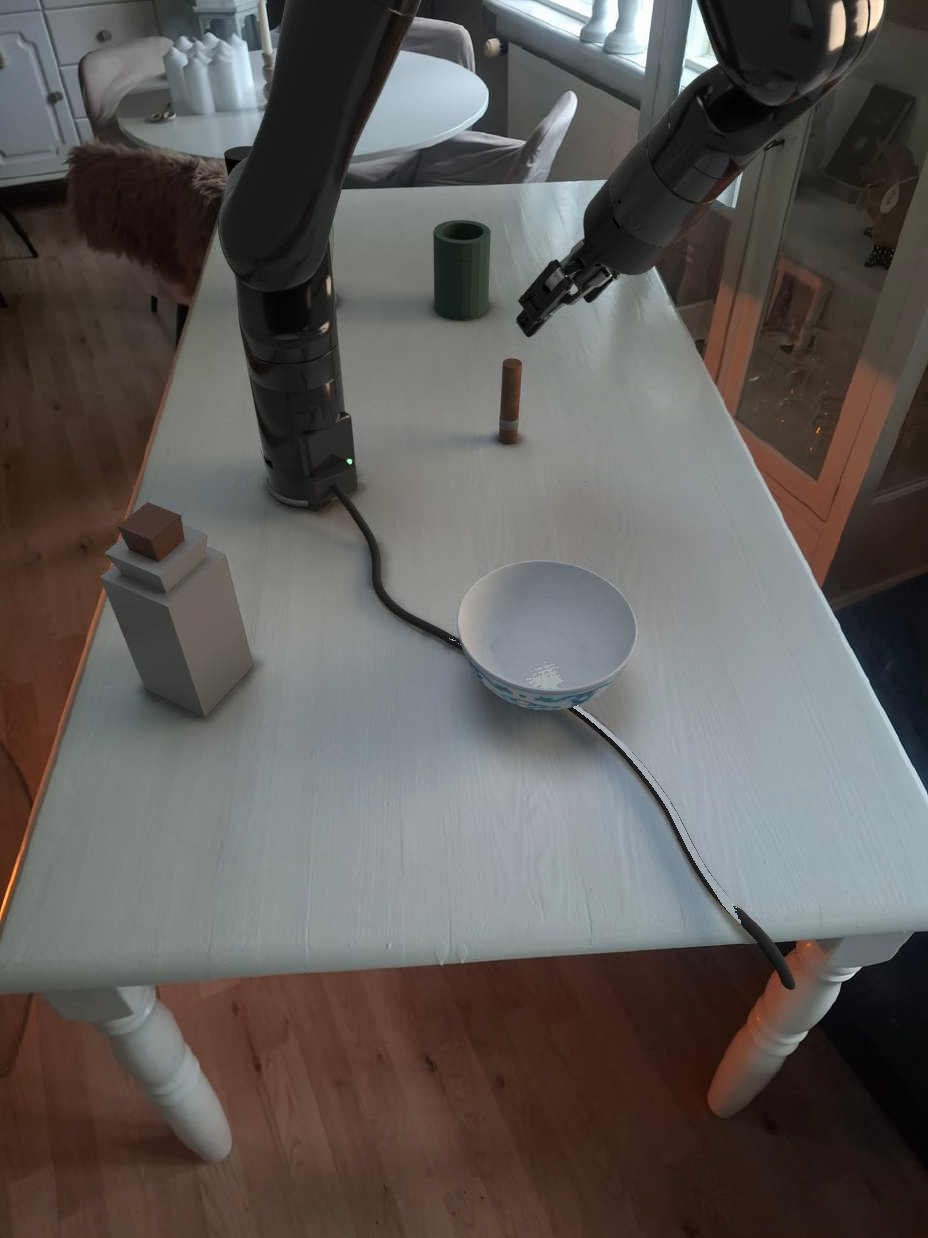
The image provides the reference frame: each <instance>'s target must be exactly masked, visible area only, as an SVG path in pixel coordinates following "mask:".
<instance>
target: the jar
mask: <svg viewBox="0 0 928 1238" xmlns="http://www.w3.org/2000/svg"><path fill="white" fill-rule="evenodd" d="M432 232H433V233H432V234H433V235H432V236H433V237H432V238H433V301H434V302H433V304H434V311H435V312H436V313H437V314H438V315H439V316H440V317H443V318H445V319H448V320H454V321H470V320H475V319H478V318H480V317H482V316H484V315H485V314H486V313H487V312H488V309H489V293H490V291H489V290H490V268H491V264H490V263H491V238H492V237H491V234H492V231H491V229H490V228H489V226H487V225H486V224H484V223H481V222H480V221H479V222H478V221H475V220H469V219H455V220H449V221H444V222H440V223H439V224H438V225H436V226H435V227H434V228H433V231H432Z"/></svg>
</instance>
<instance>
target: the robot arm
mask: <svg viewBox="0 0 928 1238" xmlns="http://www.w3.org/2000/svg"><path fill="white" fill-rule="evenodd" d="M695 1H696V4H697V8H698V10H699V12H700V13H699V14H700V15H701V18H702V19H701V20H702V21H703V25H704V28H705V32H706V35H707V38H708V40H709V43H710V47H711V49H712V52H713V54H714V57H715V59H716V61H717V63H716V64H715V65H713V66H712V67H710V68H709V69H706V70H705V71H703V72H702V73H701V74H699V75H697V76H696V77H695V78H694V79H692V81H691V82H689V84H687V85H686V86H685V87H684V88H683V89H682V90H681V92H680V93H679V94H678V95H677V96H676V97H675V99H674V100H673V101H672V103H671V104H670V105H669V106H668V107H667V109H666V111H664V113H663V114H662V115H661V117H660V118H659V119H658V121H657V122H656V123H655V124H654V125H653V127H652V128H651V129H650V130H649V131H648V132H647V133H646V134H645V135H644V136H643V137H642V138H641V139H640V140H639V141H638V142H637V143H635V145H634V146H633V147H632V148H631V150H629V152H628V153H627V154H626V155H625V156H624V158H623V159H622V160H621V162H620V163H619V164H618V166H617V167H616V168H615V169H614V171H612V173H611V175H610V176H609V177H608V178H607V179H606V181H605V182H604V183H603V185H602V186H601V187H600V189H599V190H597V192H596V194H595V195H594V196H593V197H592V199H591V200H590V201H589V202H588V204H587V205H586V208H585V210H584V212H583V213H584V214H583V218H582V219H583V220H582V226H583V227H582V228H583V238H581V239H580V240H579V241H578V242H576V243H575V244H574V245H573V246H572V247H571V249H570V252H569V253H568V254H567V255H566V256H565V257H564V258H563V259H562V260H561V261H559V259H558V258H556V259H554V260H551V261H549V262H548V264H547V265H546V266H545V268H544V269H543V270H542V271H541V272H540V273H539V275H538V276H537V277H536V279H534V280H533V282H532V283H531V284H530V285H529V287H528V288H527V289H526V290H525V291H524V293H523V294H522V295H521V296H520V297H519V299H518V300H517V302H518V304H519V305H520V307H522V311H520V313H519V314H518V315H517V316H516V318H515V319H516V320H515V323H516V324H517V325H518V328H520V330H521V331H522V333H523V334H524V335H525V337H526V338H531V337H533V336H535V335H536V334H538V332H539V331H540V329H541V328H542V327H543V326H544V325H545V324H546V323H547V322H548V321H549V320H550V319H551V318H552V317H553V316H554V315H555V314H556V313H557V312H558V311H560V309H562V308H563V307H564V306H565V305H566V306H574V305H576V303H578V302H579V301H580V300H581V299H583V300H584V301H585V302H586V303H587V304H591V303H593V302H594V301H596V300H597V298H599V296H600V295H601V294H602V293H603V292H604V291H605V290H606V289H607V288H608V287H609V286H610V285H611V284H612V282H613V283H614V282H615V281H619V280H620V279H621V278H622V277H623V276H625V275H627V276H638V275H642V274H645V273H648V272H649V271H651V270H652V269H653V268H654V267H655V266H656V265H657V264H658V263H659V262H660V261H661V260H662V259H663V258H664V257H665V256H666V255H667V254H668V253H669V252H670V251H671V250H672V249H673V248H674V247H675V245H677V244H678V243H679V242H680V241H681V240H682V239H683V238H684V237H685V236H686V235H687V234H688V233H689V232H690V231H691V230H692V229H693V228H694V227H695V226H696V225H697V224H698V223H699V221H700V220H702V218H703V217H704V216H705V214H706V213H707V212H708V211H709V210H710V208H711V207H712V205H713V204H714V202H716V199H718V198H719V197H720V196H721V195H722V194H723V193H724V192H725V191H726V189H727V188H729V187H730V186H731V185H732V184H733V182H734V181H735V180H736V179H738V178H739V176H740V175H741V174H742V173H743V172H745V170H746V169H747V168H748V167H749V166H750V164H751V163H752V162H753V161H754V160H755V158H756V157H757V156H758V155H759V154H760V153H762V151H763V150H764V149H765V148H766V147H767V146H768V145H769V144H770V143H772V141H774V139H776V138H777V137H778V136H779V135H780V134H781V133H783V132H784V131H785V130H787V129H788V128H789V127H791V125H793V124H795V123H796V121H798V120H799V119H800V118H801V117H803V116H804V115H806V113H807V112H808V111H810V110H811V109H813V108H814V107H815V106H816V105H817V104H819V102H821V101H822V100H823V99H824V98H825V97H827V95H829V94H830V93H831V92H832V91H833V90H835V88H837V87H838V86H839V85H840V84H841V83H842V82H843V81H844V80H845V79H846V78H847V77H848V76H850V75H851V74H852V73H853V71H855V69H856V68H858V66H859V65H860V64H861V63H862V62H863V60H864V59H865V58H866V56H867V55H868V54H869V52H870V51H871V50H872V48H873V46H874V44H875V43H876V40H878V39H877V38H878V36H879V34H880V32H881V29H882V27H883V24H884V20H885V15H886V9H887V0H695ZM421 3H422V0H285V3H284V8H283V13H282V18H281V23H280V29H279V34H278V41H277V48H276V54H275V60H274V65H273V72H272V79H271V84H270V90H269V94H268V97H267V98H268V99H267V103H266V106H265V109H264V113H263V116H262V119H261V122H260V125H259V127H258V129H257V132H256V135H255V138H254V139H253V143H252V145H251V146H252V148H251V150H250V153H249V155H248V157H247V158H245V159H243V160H242V161H241V162H240V163H238V164H237V165H236V166H235V168H234V169H233V170H232V171H231V173H230V175H229V176H228V175H227V178H226V180H225V183H224V185H223V189H222V194H221V201H220V205H219V206H220V207H219V213H218V218H217V219H218V220H217V235H218V240H219V244H220V248H221V252H222V254H223V256H224V259H225V261H226V263H227V265H228V266H229V268H230V270H231V271H232V273H233V274H234V279H235V289H236V297H237V299H236V300H237V312H238V326H239V331H240V336H241V340H242V345H243V351H244V356H245V362H246V367H247V371H248V372H247V374H248V379H249V383H250V384H249V385H250V390H251V395H252V400H253V407H254V411H255V417H256V422H257V427H258V432H259V433H258V434H259V438H260V444H261V447H259V451H260V454H261V457H262V461H263V464H264V467H265V471H266V477H267V478H266V480H267V485H268V490H269V493H270V494H271V495H272V496H273V498H275V499H277V501H279V502H281V503H283V504H285V505H289V506H292V507H297V508H308V509H311V510H312V511H313V512H318V511H320V510H322V509H324V508H326V507H328V506H329V505H331V504H332V503H334V502H336V501H338V500H339V501H340V502H341V503H342V505H343V507H344V508H345V509H346V511H347V513H348V514H349V515H350V516H351V518H352V520H353V521H354V523H355V524H356V526H357V527H358V529H359V530H360V532H361V533H362V535H363V537H364V539H365V541H366V542H367V545H368V548H369V551H370V555H371V579H372V586H373V589H374V592H375V594H376V596H377V597H378V598H379V600H380V601H381V603H382V604H383V606H385V608H387V609H388V610H389V611H390V612H392V614H394V615H395V616H397V617H398V618H399V619H401V620H403V621H405V622H406V623H408V624H410V625H411V626H414V627H416V628H418V629H419V630H421V631H424V632H426V633H428V634H429V635H431V636H434V637H436V638H438V639H439V640H442V641H443V642H445V643H446V644H449V645H450V646H452V647H454V648H455V649H457V650H459V651H461V652H463V653H464V651H463V649H462V646H461V645H460V644H461V643H460V640H459V639H458V638H459V637H457V636H455V635H453V634H451V633H450V632H448V631H446V630H444V629H443V628H440V627H438V626H436V625H434V624H432V623H431V622H428V621H427V620H424V619H422V618H420V617H418V616H416V615H414V614H412V613H410V612H409V611H407V610H406V609H404V608H403V607H402V606H400V605H399V604H397V602H395V601H394V600H393V598H392V597H390V595H389V594H388V592H387V591H386V589H385V587H384V585H383V582H382V564H381V562H382V561H381V552H380V549H379V544H378V542H377V539H376V537H375V535H374V533H373V532H372V530H371V528H370V526H369V525H368V523H367V522H366V520H365V519H364V517H363V516H362V514H361V513H360V511H359V510H358V508H357V507H356V506H355V504H354V503H353V501H352V500H351V499H350V497H349V496H348V495H347V494H350V493H351V492H353V491H354V490H356V489H358V487H359V485H358V474H357V472H358V471H357V464H356V453H355V440H354V431H353V421H352V415H351V414H350V413H349V412H347V411H346V404H345V395H344V394H345V393H344V383H343V374H342V364H341V363H342V362H341V352H340V342H339V332H338V331H339V330H338V319H337V317H338V316H337V306H336V305H337V304H336V303H335V293H336V290H335V291H334V289H335V284H334V274H333V262H331V251H330V240H329V235H330V231H331V227H332V223H333V224H334V219H335V216H336V211H337V208H338V204H339V201H340V198H341V194H342V190H343V187H344V185H345V184H344V183H345V180H346V177H347V173H348V171H349V168H350V164H351V162H352V159H353V156H354V153H355V151H356V148H357V145H358V143H359V140H360V138H361V136H362V134H363V132H364V130H365V128H366V125H367V124H368V122H369V119H370V118H371V115H372V114H373V111H374V109H375V107H376V105H377V103H378V101H379V100H380V97H381V95H382V92H383V91H384V89H385V86H386V84H387V82H388V80H389V77H390V75H391V72H392V70H393V69H394V66H395V64H396V61H397V60H398V57H399V55H400V52H401V50H402V48H403V45H404V43H405V40H406V38H407V36H408V34H409V32H410V29H411V27H412V25H413V22H414V20H415V18H416V15H417V13H418V10H419V8H420V5H421ZM573 286H575V288H576V291H575V293H572V292H571V289H572V287H573ZM456 637H457V638H456ZM449 638H450V639H453V640H456V641H452V640H450V639H449ZM458 643H459V644H458ZM566 710H568V711H569V712H571V713H572V714H573V715H575V716H576V717H578V718H579V719H580V720H581V721H583V723H585V724H586V725H588V727H590V728H591V729H592V730H593V731H595V733H597V734H598V735H599V736H600V737H602V738H603V740H604V741H606V742H607V743H608V744H609V745H610V746H611V747H612V748H613V749H614V750H615V751H616V752H617V753H618V754H619V755H620V756H621V757H622V758H623V760H624V761H625V762H626V763H627V764H628V765H629V767H631V769H632V770H633V771H634V772H635V774H636V775H637V776H638V777H639V779H640V780H641V782H642V783H643V784H644V785H645V786H646V788H647V789H648V791H649V792H650V793H651V795H652V796H653V798H654V799H655V800H656V802H657V803H658V805H659V807H660V808H661V810H662V812H663V813H664V815H665V817H666V819H667V820H668V822H669V824H670V827H671V828H672V830H673V832H674V835H675V836H676V838H677V841H678V843H679V844H680V845H679V846H680V847H681V849H682V851H683V853H684V855H685V857H686V858H687V860H688V862H689V864H690V866H691V868H692V869H693V871H694V872H695V874H696V875H697V877H698V878H699V880H700V882H701V883H702V884H703V886H704V887H705V889H706V890H707V891H708V892H709V894H710V895H711V896H712V897H713V899H714V900H715V901H716V902H717V904H719V906H721V907H722V908H723V909H724V910H725V912H727V913H728V914H729V915H730V913H729V912H728V911H727V910H726V908H725V907H724V906H723V905H722V903H721V902H720V900H719V899H718V897H717V895H716V894H715V892H714V891H713V889H712V888H711V886H710V885H709V883H708V882H707V880H706V879H705V877H704V876H703V874H702V873H701V871H700V870H699V868H698V866H697V865H696V863H695V861H694V860H693V858H692V856H691V854H690V852H689V851H688V849H687V847H686V845H685V843H684V841H683V839H682V837H681V835H680V833H679V831H678V829H677V827H676V825H675V823H674V821H673V819H672V817H671V815H670V813H669V811H668V809H667V808H666V806H665V804H664V803H663V801H662V800H661V798H660V797H659V795H658V794H657V792H656V791H655V790H654V788H653V787H652V785H651V784H650V783H649V781H648V780H647V779H646V778H645V776H644V775H643V774H642V772H641V771H640V770H639V769H638V767H637V766H636V765H635V764H634V763H633V761H632V760H631V759H630V758H629V757H628V756H627V755H626V753H625V752H624V751H623V750H622V749H621V748H620V747H619V746H618V745H617V744H616V743H615V742H614V741H613V740H612V739H611V738H610V737H608V736H607V735H606V734H605V733H604V732H603V731H602V730H601V729H599V728H598V727H597V726H596V725H595V724H594V723H592V722H591V721H590V720H589V719H588V718H586V717H585V716H584V715H582V714H581V713H580V712H578V711H577V710H576V709H574V708H573V707H571V708H566ZM591 715H592V716H594V715H593V714H591ZM603 725H604V726H606V725H605V724H603ZM611 732H612V733H613V734H615V733H614V732H613V731H611ZM632 753H633V754H634V755H635V756H636V754H635V753H634V752H633V751H632ZM636 757H637V756H636ZM639 761H640V762H641V763H642V764H643V762H642V761H641V760H640V759H639ZM644 767H645V768H646V769H647V770H648V768H647V767H646V766H645V765H644ZM648 772H649V773H650V774H651V772H650V771H649V770H648ZM652 777H653V778H654V779H655V777H654V776H653V775H652ZM655 781H656V782H657V783H658V781H657V780H656V779H655ZM658 785H659V786H660V787H661V785H660V784H659V783H658ZM661 789H662V790H663V788H662V787H661ZM663 792H664V793H665V794H666V792H665V791H664V790H663ZM666 796H667V797H668V795H667V794H666ZM668 799H669V800H670V798H669V797H668ZM670 802H671V804H672V805H673V807H674V809H675V811H676V812H677V814H678V816H679V818H680V820H681V822H682V824H683V826H684V828H685V830H686V832H687V834H688V836H689V838H690V840H691V842H692V844H693V846H694V848H695V849H696V851H697V853H698V855H699V857H700V858H701V860H702V862H703V863H704V865H705V867H706V868H707V870H708V871H709V873H710V874H711V876H712V877H713V878H714V876H713V875H712V873H711V871H710V870H709V869H708V867H707V865H706V863H705V862H704V861H703V859H702V857H701V856H700V854H699V852H698V850H697V848H696V846H695V844H694V842H693V840H692V839H691V836H690V834H689V833H688V830H687V829H686V826H685V824H684V823H683V820H682V819H681V817H680V815H679V813H678V811H677V810H676V807H675V806H674V804H673V803H672V801H671V800H670ZM714 880H715V881H716V882H717V880H716V879H715V878H714ZM717 884H718V885H719V886H720V887H721V885H720V884H719V883H718V882H717ZM723 891H724V892H725V893H726V891H725V890H724V889H723ZM733 907H734V909H735V910H737V911H735V913H737V915H738V919H740V920H741V925H742V926H743V927H742V926H741V925H740V926H741V927H742V928H743V929H744V931H746V932H747V933H748V934H749V935H750V936H751V937H752V939H753V940H754V941H755V942H756V943H757V945H759V946H760V948H761V950H762V951H763V952H764V954H765V955H766V956H767V958H768V959H769V960H770V962H771V964H772V965H773V968H774V969H775V972H776V973H777V975H778V978H779V981H780V983H781V985H782V986H783V987H784V988H785V989H787V990H789V991H793V990H795V988H796V986H797V985H796V981H795V979H794V976H793V973H792V971H791V969H790V967H789V964H788V963H787V961H786V959H785V958H784V956H783V954H782V952H781V951H780V949H779V948H778V946H777V945H776V943H775V942H774V941H773V939H772V938H771V937H770V936H769V935H768V933H766V931H765V930H764V929H763V928H762V927H761V926H760V925H759V924H758V923H757V922H756V921H755V920H754V919H753V918H752V917H751V916H750V915H748V914H747V912H746V911H744V909H742V908H741V907H740V908H741V909H740V908H738V907H737V908H735V907H736V906H733ZM749 916H750V917H751V918H752V919H753V920H754V921H755V922H754V921H753V920H752V919H751V918H750V917H749Z"/></svg>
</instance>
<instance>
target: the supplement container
mask: <svg viewBox="0 0 928 1238" xmlns="http://www.w3.org/2000/svg"><path fill="white" fill-rule="evenodd" d="M251 148H252V145H241V146H234V147H231V148H228V149H226V150H225V151H224V152H223V158H224V163H225V168H226V173H227V177H228V176H229V175H230V173H231V171H232V170H233V169H234V168H235V166H236V165H237V164H238V163H240V162H241V161H242V160H243V159H245V158H247V157H248V155H249V153H250V150H251Z"/></svg>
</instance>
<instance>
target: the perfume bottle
mask: <svg viewBox="0 0 928 1238" xmlns="http://www.w3.org/2000/svg"><path fill="white" fill-rule="evenodd" d="M117 529H118V531H119V533H120V535H121V539H119V540H118V541H117V542H116V543H115V544H113V545H112V546H110V548H108V549H107V550H106V551H104V555H105V556H106V557H107V558H108V560H110V562H111V563H112V564H113V565H112V567H110V568H109V569H108V570H106V572H104V573H103V574H102V575H101V576H99V579H100V581H101V584H102V587H103V588H104V591H105V593H106V596H107V598H108V602H109V604H110V606H111V608H112V611H113V614H114V616H115V619H116V621H117V623H118V626H119V628H120V632H121V633H122V636H123V638H124V641H125V643H126V646H127V648H128V651H129V653H130V656H131V658H132V661H133V663H134V666H135V668H136V670H137V673H138V675H139V678H140V681H141V683H142V686H143V688H144V689H145V690H147V691H149V692H151V693H153V694H156V695H157V696H160V697H161V698H164V699H165V700H167V701H170V702H172V703H174V704H176V705H178V706H180V707H183V708H184V709H186V710H188V711H191V712H193V713H195V714H197V715H198V716H201V717H203V718H206V717H207V716H208V715H209V714H210V713H211V712H212V711H213V710H214V709H215V707H216V706H217V705H219V703H220V702H221V701H222V700H223V699H224V698H225V697H226V696H227V695H228V694H229V692H231V690H232V689H233V688H234V687H235V686H236V685H237V684H238V683H239V681H240V680H241V679H243V677H244V676H245V675H246V674H247V673H248V672H249V671H250V670H251V669H252V668H253V667H254V661H253V657H252V654H251V653H252V652H251V649H250V644H249V641H248V637H247V633H246V629H245V625H244V621H243V617H242V613H241V609H240V605H239V600H238V597H237V593H236V589H235V586H234V582H233V581H234V580H233V577H232V573H231V569H230V564H229V561H228V558H227V554H226V553H224V552H223V551H220V550H217V549H215V548H213V547H210V546H209V545H208V537H209V536H208V533H205V532H203V531H201V530H198V529H196V528H193V527H191V526H188V525H186V524H183V520H182V514H179V513H176V512H174V511H171V510H169V509H167V508H164V507H161V506H159V505H156V504H154V503H151V502H148V501H146V502H145V504H143V505H141V507H139V508H138V509H137V510H135V511H134V512H133V513H132V514H130V515H129V516H128V517H127V518H126V519H124V520H123V521H122V522H120V523H119V524H118V525H117Z"/></svg>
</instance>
